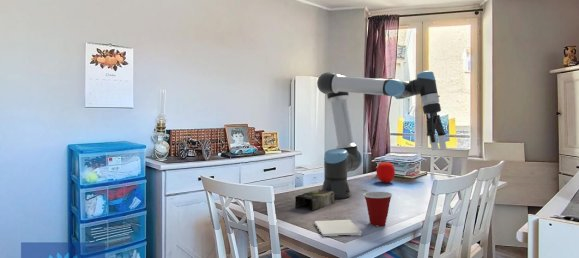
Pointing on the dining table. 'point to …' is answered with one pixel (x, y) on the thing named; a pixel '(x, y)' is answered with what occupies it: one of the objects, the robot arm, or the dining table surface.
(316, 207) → the olive boxy piece
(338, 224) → the cream tile
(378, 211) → the plastic cup
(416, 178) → the dining table surface
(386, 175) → the tomato
